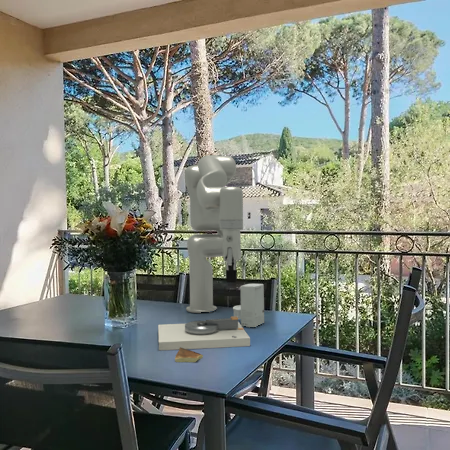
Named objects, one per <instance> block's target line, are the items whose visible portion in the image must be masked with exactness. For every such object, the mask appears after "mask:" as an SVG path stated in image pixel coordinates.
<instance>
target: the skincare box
mask: <svg viewBox="0 0 450 450" xmlns="http://www.w3.org/2000/svg"><path fill="white" fill-rule="evenodd" d="M264 285H265V284H263V283H246V284H243V285H240V305H241V320H240V325H241V326H242V327H244V326H246V327H245V328H250V327H256V326H258V325H260V324H262V323H264V324H265V297H264V296H265V295H264V294H265V290H264V289H265V286H264ZM262 325H263V324H262ZM260 326H261V325H260ZM258 327H259V326H258ZM256 328H257V327H256Z"/></svg>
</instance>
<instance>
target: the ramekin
mask: <svg viewBox="0 0 450 450" xmlns="http://www.w3.org/2000/svg"><path fill="white" fill-rule="evenodd" d="M232 310H233V316H237V317H238V319H241V304H239V305H233V307H232Z"/></svg>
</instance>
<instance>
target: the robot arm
mask: <svg viewBox="0 0 450 450" xmlns="http://www.w3.org/2000/svg"><path fill="white" fill-rule="evenodd" d="M236 173H237V164H236V160H235V159H234V158H233V157H232V156H230V155H213V154H210V155H209V154H208V155H205V156H204V155H203V156H202V157H201V158H200V159H198V163H197V165H195V164H194V165H190V166H188V167H186V169H185V171H184V183H185V186H186V189H187V192H188V195H189V207H190V208H189V214H190V215H189V219H190V226H191V228H192V229H193V231H197V232H198V231H199V232H208V231H209V232H212V231H216V232H217V233H201V234H200V233H198V234H197V233H196V234H193V235H191V236H189V238H188V239H187V240H186V241H187V242H186V246H187V251H188V252H187V254H188V260H189V261H188V262H189V305H188V306H186V309H185V310H186V311H187V312H188V313H194V314H202V313H201V312H209V313H211V312H210V311H214V310H216V309H217V310H218V307H217V306H216V305H214V296H213V294H214V291H213V290H214V287H213V286H214V285H213V284H214V283H213V277H214V276H213V271H214V270H213V266H212V264H211V263H210V262H209V260H208V259H207V258H216V257H217V258H219V257H223V260H224V261H225V262H226V271H225V272H226V274H225V275H226V280H225V281H226V282H227V283H233V284H234V283H237V281H238V277H237V276H238V275H237V274H238V273H237V272H238V270H237V262H239V261H240V260H241V258H242V246H241V245H242V243H241V231H243V230H244V191H243V189H242V188H241V187H238V186H227V185H228V184H229V183H230V182H231V180H232V179H233V178H234V177H235V175H236ZM225 186H227V187H225ZM217 310H216V311H217ZM214 312H215V311H214Z"/></svg>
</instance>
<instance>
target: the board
mask: <svg viewBox="0 0 450 450" xmlns="http://www.w3.org/2000/svg"><path fill="white" fill-rule="evenodd" d="M185 324H186V323H167V324H158V325H157V326H158V330H157V331H158V351H176V350H177V351H179V349H180V347H181V348H184V349H187V350H197V349H216V348H241V347H250V346H251V337H250V335H249V334H248V333H247V332H246V330H245V329H244V326H241V322H239V321H238V329H222V330H218V331H217V332H215V333H212V334H204V335H197V334H190V333H187V332H185Z"/></svg>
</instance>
